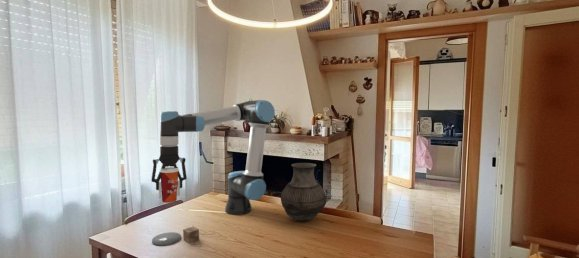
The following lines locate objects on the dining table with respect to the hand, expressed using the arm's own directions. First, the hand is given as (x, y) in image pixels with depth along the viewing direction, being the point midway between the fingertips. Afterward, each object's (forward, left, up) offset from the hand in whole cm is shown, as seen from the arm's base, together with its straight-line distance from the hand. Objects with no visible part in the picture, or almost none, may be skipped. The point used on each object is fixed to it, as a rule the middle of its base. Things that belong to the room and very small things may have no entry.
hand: (169, 196), depth 131 cm
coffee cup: (0, 0, -2) cm, 2 cm away
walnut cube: (-8, +5, -20) cm, 22 cm away
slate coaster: (+2, 0, -20) cm, 20 cm away
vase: (-66, +4, -20) cm, 70 cm away
